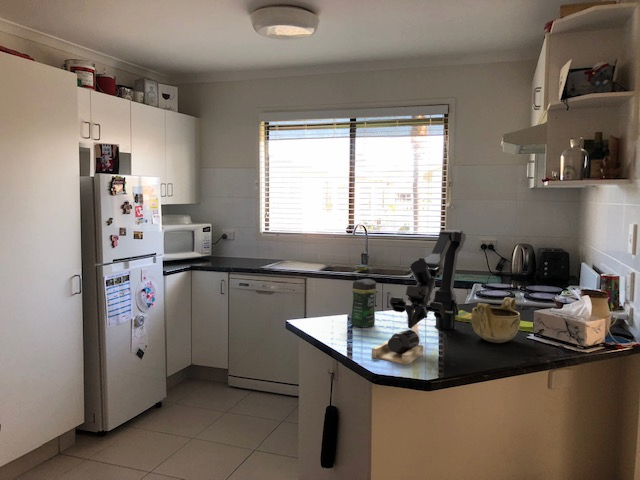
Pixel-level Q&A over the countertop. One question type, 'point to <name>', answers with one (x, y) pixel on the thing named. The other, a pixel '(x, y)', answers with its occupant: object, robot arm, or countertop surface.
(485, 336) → the ceramic bowl
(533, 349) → the countertop surface
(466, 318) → the dish towel
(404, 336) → the supplement bottle
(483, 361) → the countertop surface
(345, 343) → the countertop surface
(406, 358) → the cradle
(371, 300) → the coffee jar
